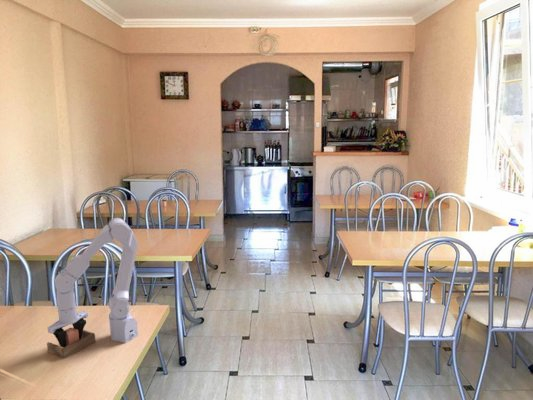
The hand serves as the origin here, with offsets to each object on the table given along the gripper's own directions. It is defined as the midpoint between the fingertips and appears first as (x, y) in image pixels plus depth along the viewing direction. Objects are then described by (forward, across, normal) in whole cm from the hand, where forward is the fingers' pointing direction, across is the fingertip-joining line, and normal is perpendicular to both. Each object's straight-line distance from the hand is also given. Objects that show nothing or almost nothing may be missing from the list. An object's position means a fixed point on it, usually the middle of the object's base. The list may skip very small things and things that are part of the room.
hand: (70, 344), depth 158 cm
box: (+2, 0, 0) cm, 2 cm away
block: (+1, 0, 0) cm, 1 cm away
